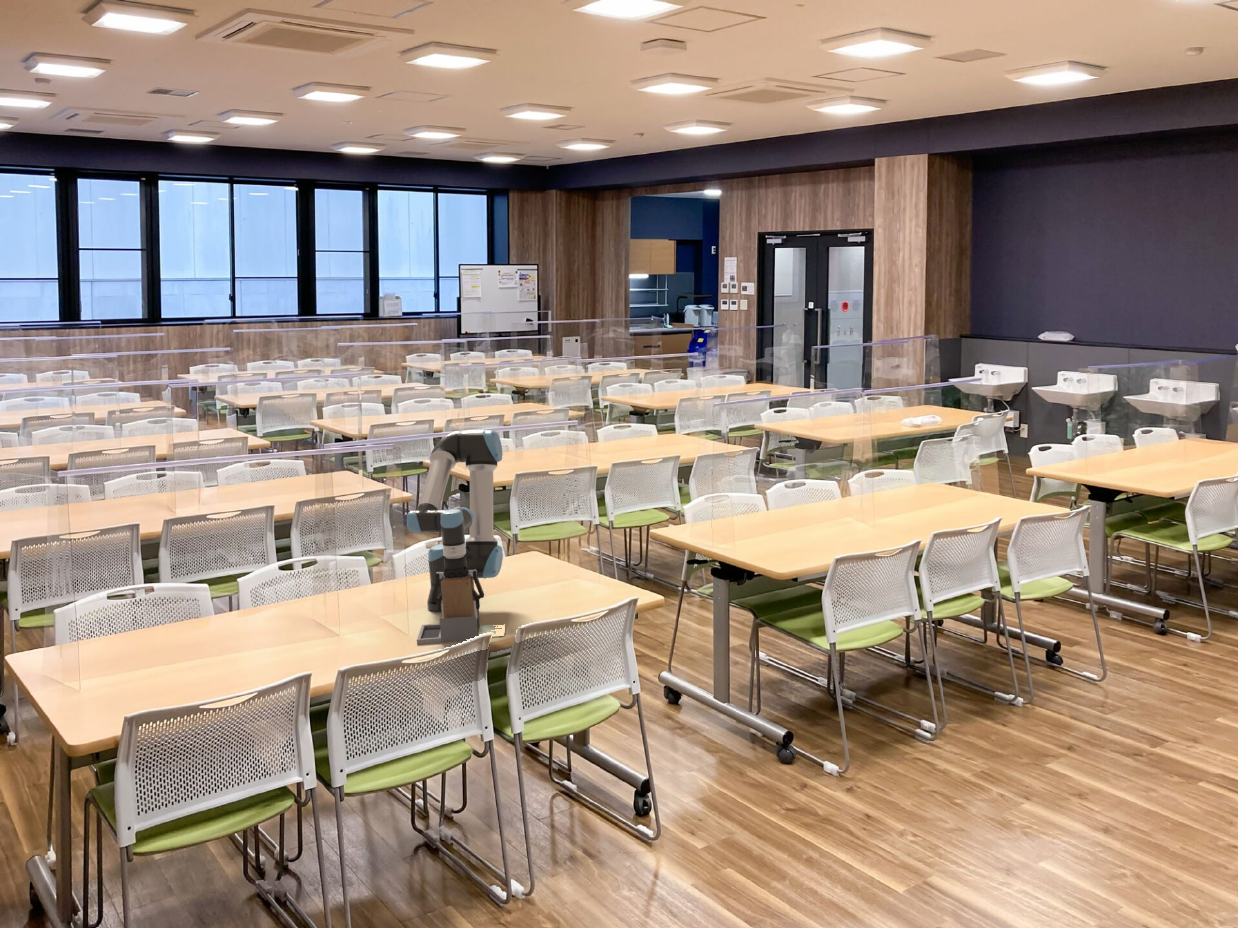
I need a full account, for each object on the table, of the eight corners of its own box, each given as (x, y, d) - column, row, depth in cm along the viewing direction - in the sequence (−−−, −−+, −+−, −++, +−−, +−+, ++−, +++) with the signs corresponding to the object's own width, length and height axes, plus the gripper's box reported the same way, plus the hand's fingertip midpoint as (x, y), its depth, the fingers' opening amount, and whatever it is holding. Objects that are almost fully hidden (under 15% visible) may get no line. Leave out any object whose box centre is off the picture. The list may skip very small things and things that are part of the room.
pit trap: (422, 628, 404) (421, 624, 404) (445, 627, 405) (445, 623, 404) (417, 644, 389) (416, 639, 388) (441, 642, 389) (441, 638, 389)
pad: (479, 626, 404) (479, 625, 404) (505, 624, 404) (505, 623, 404) (477, 638, 391) (477, 637, 391) (504, 636, 392) (504, 635, 391)
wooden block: (474, 635, 393) (470, 578, 390) (445, 637, 393) (440, 580, 389) (477, 626, 403) (473, 570, 399) (448, 627, 403) (443, 572, 399)
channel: (445, 627, 405) (443, 605, 403) (480, 624, 405) (478, 602, 404) (441, 642, 389) (439, 619, 388) (477, 639, 390) (475, 616, 388)
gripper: (419, 561, 388) (425, 624, 392) (488, 556, 389) (493, 620, 393) (422, 555, 395) (427, 617, 399) (489, 550, 397) (494, 613, 401)
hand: (460, 619), depth 396 cm, fingers closed on wooden block, 10 cm apart
